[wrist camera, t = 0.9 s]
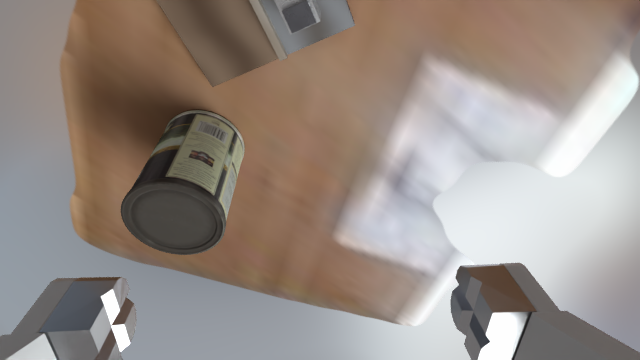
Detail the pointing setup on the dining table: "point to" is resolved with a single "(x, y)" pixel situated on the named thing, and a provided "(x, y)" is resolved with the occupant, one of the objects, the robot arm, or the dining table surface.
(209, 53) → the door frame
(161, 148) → the coffee can
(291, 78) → the dining table surface
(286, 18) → the latch bar
